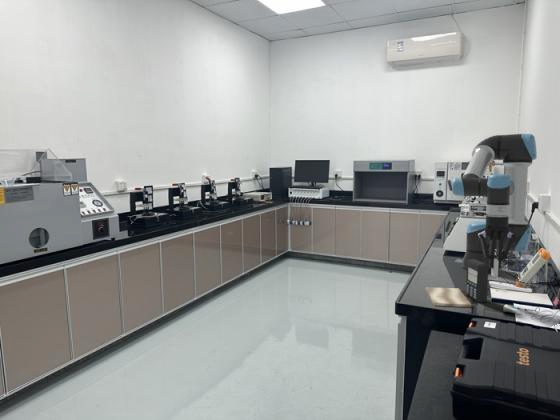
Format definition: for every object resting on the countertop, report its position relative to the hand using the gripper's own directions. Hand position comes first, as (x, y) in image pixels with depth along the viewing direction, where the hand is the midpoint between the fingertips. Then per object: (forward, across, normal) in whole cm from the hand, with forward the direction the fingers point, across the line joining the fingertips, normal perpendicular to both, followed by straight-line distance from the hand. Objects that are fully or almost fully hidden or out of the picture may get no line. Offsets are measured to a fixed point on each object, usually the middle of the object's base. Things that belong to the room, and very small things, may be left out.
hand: (494, 276), depth 149 cm
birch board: (+9, -17, 0) cm, 19 cm away
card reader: (+10, -6, 0) cm, 12 cm away
